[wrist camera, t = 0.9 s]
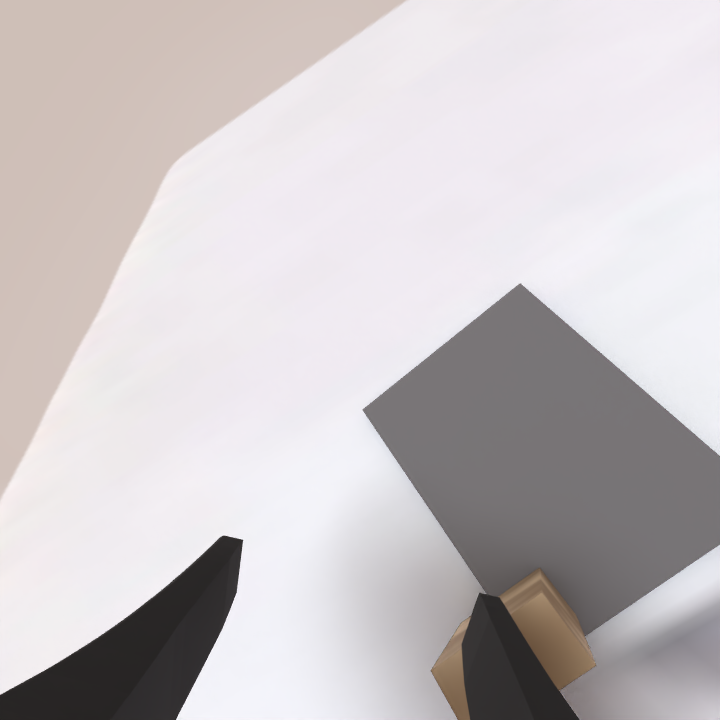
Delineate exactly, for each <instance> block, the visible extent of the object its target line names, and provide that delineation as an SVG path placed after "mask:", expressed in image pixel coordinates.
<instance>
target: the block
mask: <svg viewBox="0 0 720 720" xmlns="http://www.w3.org/2000/svg"><path fill="white" fill-rule="evenodd" d="M498 597H500V599H501V600H502V602H503V603H504V605H505V607H506V608H507V610H508V611H509V613H510V615H511V616H512V618H513V620H514V621H515V623H516V625H517V626H518V628H519V630H520V631H521V633H522V634H523V636H524V638H525V639H526V641H527V643H528V644H529V646H530V647H531V649H532V651H533V652H534V654H535V655H536V657H537V658H538V660H539V661H540V663H541V665H542V666H543V668H544V669H545V671H546V672H547V674H548V675H549V677H550V678H551V680H552V681H553V683H554V684H555V686H556V687H557V689H558V690H560V689H562V688H563V687H565V686H566V685H568V684H569V683H571V682H572V681H574V680H575V679H577V678H578V677H580V676H581V675H583V674H584V673H586V672H587V671H589V670H590V669H592V668H593V667H595V666H596V663H595V661H594V658H593V656H592V653H591V651H590V648H589V646H588V643H587V641H586V638H585V636H584V633H583V631H582V628H581V626H580V623H579V621H578V618H577V616H576V614H575V613H574V612H573V610H572V609H571V608H570V606H569V605H568V604H567V603H566V601H565V600H564V599H563V597H562V596H561V595H560V593H559V592H558V591H557V589H556V588H555V587H554V586H553V584H552V583H551V582H550V580H549V579H548V578H547V576H546V575H545V574H544V572H543V571H542V570H541V569H540V567H539V568H538V569H536V570H535V571H534V572H532V573H531V574H529V575H528V576H527V577H525V578H524V579H522V580H521V581H519V582H518V583H517V584H515V585H514V586H512V587H511V588H510V589H508V590H507V591H505V592H504V593H503V594H501V595H500V596H498ZM470 618H471V616H470V617H469V618H467V619H466V620H465V621H463V622H462V623H461V624H460V625H459V627H458V628H457V630H456V632H455V633H454V635H453V636H452V638H451V639H450V641H449V643H448V644H447V646H446V647H445V649H444V651H443V652H442V654H441V655H440V657H439V658H438V660H437V662H436V663H435V665H434V666H433V668H432V669H431V672H432V674H433V676H434V677H435V679H436V681H437V683H438V685H439V686H440V688H441V690H442V692H443V694H444V695H445V697H446V699H447V701H448V703H449V704H450V706H451V708H452V710H453V712H454V713H455V715H456V717H457V719H458V720H470V716H469V710H468V704H467V698H466V692H465V686H464V675H463V662H462V646H461V644H462V641H463V638H464V635H465V632H466V630H467V627H468V624H469V621H470Z"/></svg>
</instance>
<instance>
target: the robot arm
mask: <svg viewBox="0 0 720 720" xmlns="http://www.w3.org/2000/svg"><path fill="white" fill-rule="evenodd" d="M242 544H243V540H241V539H237V538H233V537H228V536H222V537H220V538H219V539H218V540H217V541H216V542H215V543H214V544H213V545H212V546H211V547H210V548H209V549H208V550H207V551H206V552H204V553H203V554H202V555H201V556H200V557H199V558H198V559H197V560H196V561H195V562H194V563H193V564H191V565H190V566H189V567H188V568H187V569H186V570H185V571H184V572H182V573H181V574H180V575H179V576H178V577H177V578H175V579H174V580H173V581H172V582H171V583H170V584H169V585H167V586H166V587H165V588H164V589H163V590H161V591H160V592H159V593H158V594H156V595H155V596H154V597H152V598H151V599H150V600H149V601H147V602H146V603H145V604H144V605H142V606H141V607H140V608H138V609H137V610H136V611H135V612H133V613H132V614H131V615H129V616H128V617H126V618H125V619H124V620H122V621H121V622H120V623H118V624H117V625H115V626H114V627H113V628H111V629H110V630H108V631H107V632H105V633H104V634H102V635H101V636H99V637H98V638H96V639H95V640H93V641H92V642H90V643H89V644H87V645H86V646H84V647H82V648H81V649H79V650H78V651H76V652H74V653H73V654H71V655H70V656H68V657H67V658H65V659H63V660H62V661H60V662H58V663H57V664H55V665H53V666H52V667H50V668H48V669H46V670H45V671H43V672H41V673H39V674H37V675H36V676H34V677H32V678H30V679H28V680H26V681H25V682H23V683H21V684H19V685H17V686H16V687H14V688H12V689H10V690H8V691H6V692H5V693H3V694H1V695H0V720H176V718H177V716H178V714H179V712H180V710H181V708H182V707H183V705H184V703H185V701H186V699H187V697H188V695H189V693H190V691H191V689H192V687H193V685H194V683H195V681H196V679H197V677H198V675H199V673H200V672H201V670H202V668H203V666H204V664H205V662H206V660H207V658H208V656H209V654H210V652H211V650H212V648H213V646H214V644H215V642H216V640H217V638H218V636H219V634H220V632H221V630H222V628H223V626H224V623H225V621H226V618H227V616H228V613H229V611H230V608H231V606H232V603H233V600H234V598H235V595H236V593H237V585H238V577H239V569H240V560H241V552H242ZM461 646H462V662H463V675H464V686H465V692H466V698H467V704H468V710H469V716H470V720H579V718H578V717H577V716H576V714H575V713H574V711H573V710H572V709H571V707H570V706H569V704H568V703H567V702H566V700H565V699H564V697H563V696H562V695H561V693H560V692H559V690H558V689H557V687H556V686H555V684H554V683H553V681H552V680H551V678H550V677H549V675H548V674H547V672H546V671H545V669H544V668H543V666H542V665H541V663H540V661H539V660H538V658H537V657H536V655H535V654H534V652H533V651H532V649H531V647H530V646H529V644H528V643H527V641H526V639H525V638H524V636H523V634H522V633H521V631H520V630H519V628H518V626H517V625H516V623H515V621H514V620H513V618H512V616H511V615H510V613H509V611H508V610H507V608H506V607H505V605H504V603H503V602H502V600H501V599H500V597H495V596H491V595H487V594H482V593H479V595H478V598H477V601H476V604H475V607H474V610H473V612H472V615H471V618H470V621H469V624H468V627H467V630H466V632H465V635H464V638H463V641H462V644H461Z"/></svg>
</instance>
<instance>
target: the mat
mask: <svg viewBox="0 0 720 720" xmlns="http://www.w3.org/2000/svg"><path fill="white" fill-rule="evenodd" d="M363 411H364V413H365V414H366V416H367V417H368V419H369V420H370V422H371V423H372V425H373V426H374V428H375V429H376V431H377V432H378V434H379V435H380V437H381V438H382V439H383V441H384V442H385V444H386V445H387V447H388V448H389V450H390V451H391V453H392V454H393V456H394V457H395V459H396V460H397V462H398V463H399V465H400V466H401V468H402V469H403V471H404V472H405V473H406V475H407V476H408V478H409V479H410V481H411V482H412V484H413V485H414V487H415V488H416V490H417V491H418V493H419V494H420V496H421V497H422V499H423V500H424V502H425V503H426V505H427V506H428V507H429V509H430V510H431V512H432V513H433V515H434V516H435V518H436V519H437V521H438V522H439V524H440V525H441V527H442V528H443V530H444V531H445V533H446V534H447V536H448V537H449V539H450V540H451V541H452V543H453V544H454V546H455V547H456V549H457V550H458V552H459V553H460V555H461V556H462V558H463V559H464V561H465V562H466V564H467V565H468V567H469V568H470V570H471V571H472V573H473V574H474V575H475V577H476V578H477V580H478V581H479V583H480V584H481V586H482V587H483V589H484V590H485V592H486V593H487V595H491V596H495V597H498V596H500V595H501V594H503V593H504V592H505V591H507V590H508V589H510V588H511V587H512V586H514V585H515V584H517V583H518V582H519V581H521V580H522V579H524V578H525V577H527V576H528V575H529V574H531V573H532V572H534V571H535V570H536V569H538V568H539V567H540V569H541V570H542V571H543V572H544V574H545V575H546V576H547V578H548V579H549V580H550V582H551V583H552V584H553V586H554V587H555V588H556V589H557V591H558V592H559V593H560V595H561V596H562V597H563V599H564V600H565V601H566V603H567V604H568V605H569V606H570V608H571V609H572V610H573V612H574V613H575V614H576V616H577V618H578V621H579V623H580V626H581V628H582V631H583V633H584V636H586V635H587V634H589V633H590V632H592V631H593V630H595V629H596V628H598V627H599V626H601V625H602V624H603V623H605V622H606V621H608V620H609V619H611V618H612V617H614V616H615V615H617V614H618V613H620V612H621V611H623V610H624V609H626V608H627V607H628V606H630V605H631V604H633V603H634V602H636V601H637V600H639V599H640V598H642V597H643V596H645V595H646V594H648V593H649V592H651V591H652V590H653V589H655V588H656V587H658V586H659V585H661V584H662V583H664V582H665V581H667V580H668V579H670V578H671V577H673V576H674V575H676V574H677V573H678V572H680V571H681V570H683V569H684V568H686V567H687V566H689V565H690V564H692V563H693V562H695V561H696V560H698V559H699V558H701V557H702V556H703V555H705V554H706V553H708V552H709V551H711V550H712V549H714V548H715V547H717V546H718V545H720V456H719V455H718V454H717V453H716V452H714V451H713V450H712V449H711V448H710V447H709V446H707V445H706V444H705V443H704V442H703V441H702V440H700V439H699V438H698V437H697V436H696V435H695V434H694V433H692V432H691V431H690V430H689V429H688V428H687V427H685V426H684V425H683V424H682V423H681V422H680V421H679V420H677V419H676V418H675V417H674V416H673V415H672V414H670V413H669V412H668V411H667V410H666V409H665V408H664V407H662V406H661V405H660V404H659V403H658V402H657V401H655V400H654V399H653V398H652V397H651V396H650V395H649V394H647V393H646V392H645V391H644V390H643V389H642V388H640V387H639V386H638V385H637V384H636V383H635V382H633V381H632V380H631V379H630V378H629V377H628V376H627V375H625V374H624V373H623V372H622V371H621V370H620V369H618V368H617V367H616V366H615V365H614V364H613V363H612V362H610V361H609V360H608V359H607V358H606V357H605V356H603V355H602V354H601V353H600V352H599V351H598V350H597V349H595V348H594V347H593V346H592V345H591V344H590V343H588V342H587V341H586V340H585V339H584V338H583V337H581V336H580V335H579V334H578V333H577V332H576V331H575V330H573V329H572V328H571V327H570V326H569V325H568V324H566V323H565V322H564V321H563V320H562V319H561V318H560V317H558V316H557V315H556V314H555V313H554V312H553V311H551V310H550V309H549V308H548V307H547V306H546V305H545V304H543V303H542V302H541V301H540V300H539V299H538V298H536V297H535V296H534V295H533V294H532V293H531V292H529V291H528V290H527V289H526V288H525V287H524V286H523V285H521V284H519V285H517V286H516V287H515V288H514V289H512V290H511V291H510V292H509V293H507V294H506V295H505V296H504V297H502V298H501V299H500V300H499V301H497V302H496V303H495V304H494V305H492V306H491V307H490V308H489V309H487V310H486V311H485V312H484V313H482V314H481V315H480V316H479V317H478V318H476V319H475V320H474V321H473V322H471V323H470V324H469V325H468V326H466V327H465V328H464V329H463V330H461V331H460V332H459V333H458V334H456V335H455V336H454V337H453V338H451V339H450V340H449V341H448V342H446V343H445V344H444V345H443V346H441V347H440V348H439V349H438V350H436V351H435V352H434V353H433V354H431V355H430V356H429V357H428V358H426V359H425V360H424V361H423V362H421V363H420V364H419V365H418V366H416V367H415V368H414V369H413V370H411V371H410V372H409V373H408V374H406V375H405V376H404V377H403V378H401V379H400V380H399V381H398V382H397V383H395V384H394V385H393V386H392V387H390V388H389V389H388V390H387V391H385V392H384V393H383V394H382V395H380V396H379V397H378V398H377V399H375V400H374V401H373V402H372V403H370V404H369V405H368V406H367V407H365V408H364V409H363Z"/></svg>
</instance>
